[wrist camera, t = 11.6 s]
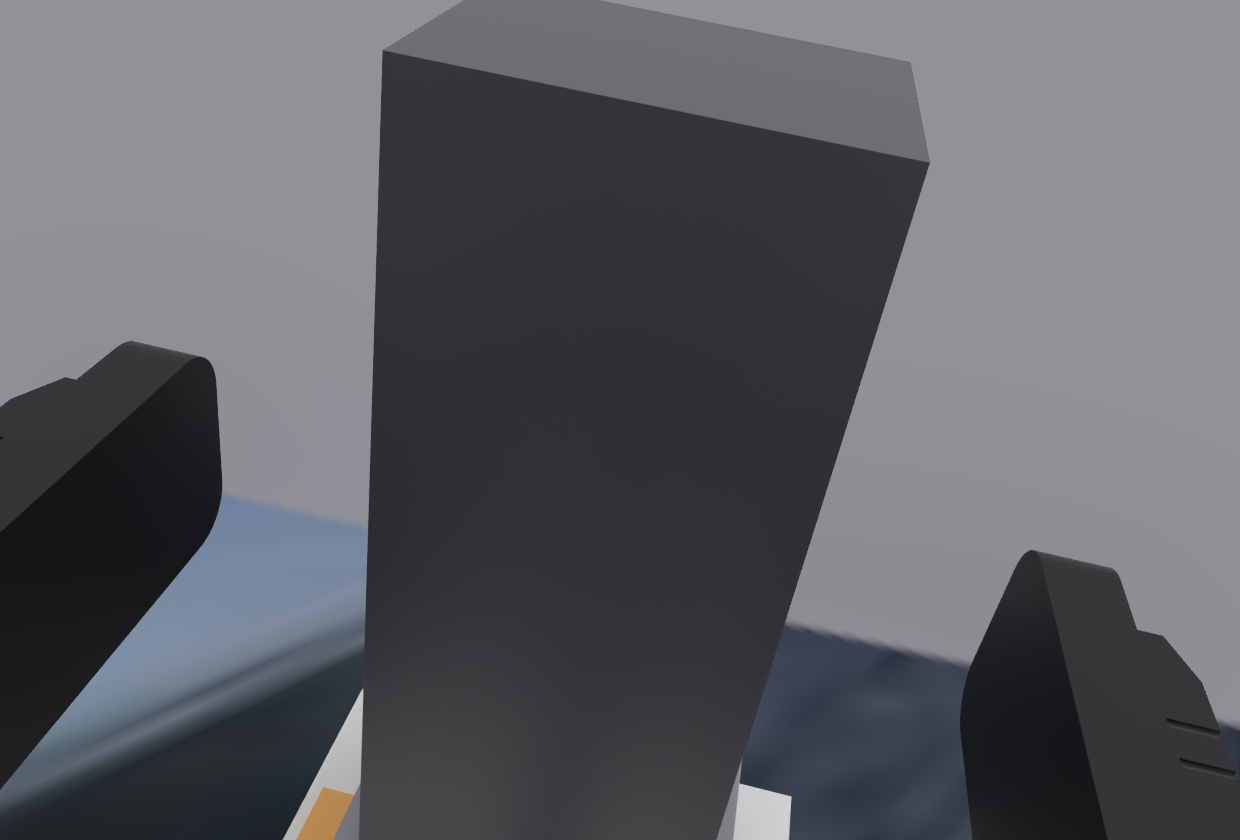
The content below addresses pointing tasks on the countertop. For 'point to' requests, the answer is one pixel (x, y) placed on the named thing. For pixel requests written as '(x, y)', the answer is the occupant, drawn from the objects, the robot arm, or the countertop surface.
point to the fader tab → (606, 403)
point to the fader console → (340, 775)
